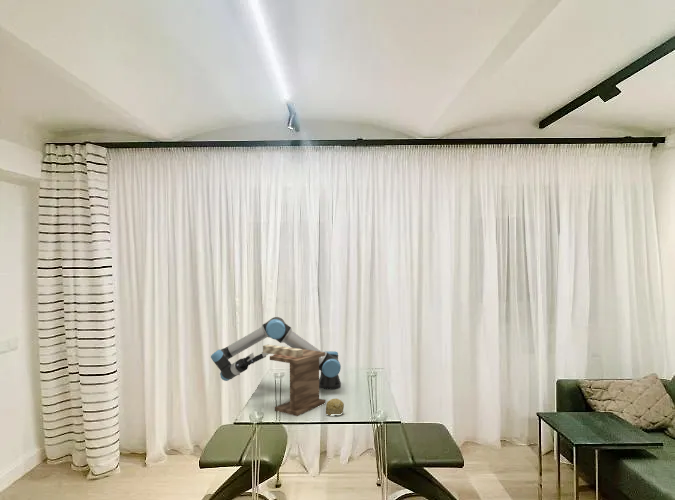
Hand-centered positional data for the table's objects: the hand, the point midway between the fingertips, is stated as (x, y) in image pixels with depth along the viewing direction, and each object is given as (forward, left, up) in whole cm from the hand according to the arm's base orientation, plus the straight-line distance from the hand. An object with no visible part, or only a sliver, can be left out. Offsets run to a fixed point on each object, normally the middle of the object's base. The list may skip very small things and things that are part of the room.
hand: (262, 352), depth 280 cm
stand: (-22, +7, -30) cm, 37 cm away
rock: (-43, +20, -30) cm, 56 cm away
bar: (-13, +9, +1) cm, 16 cm away
